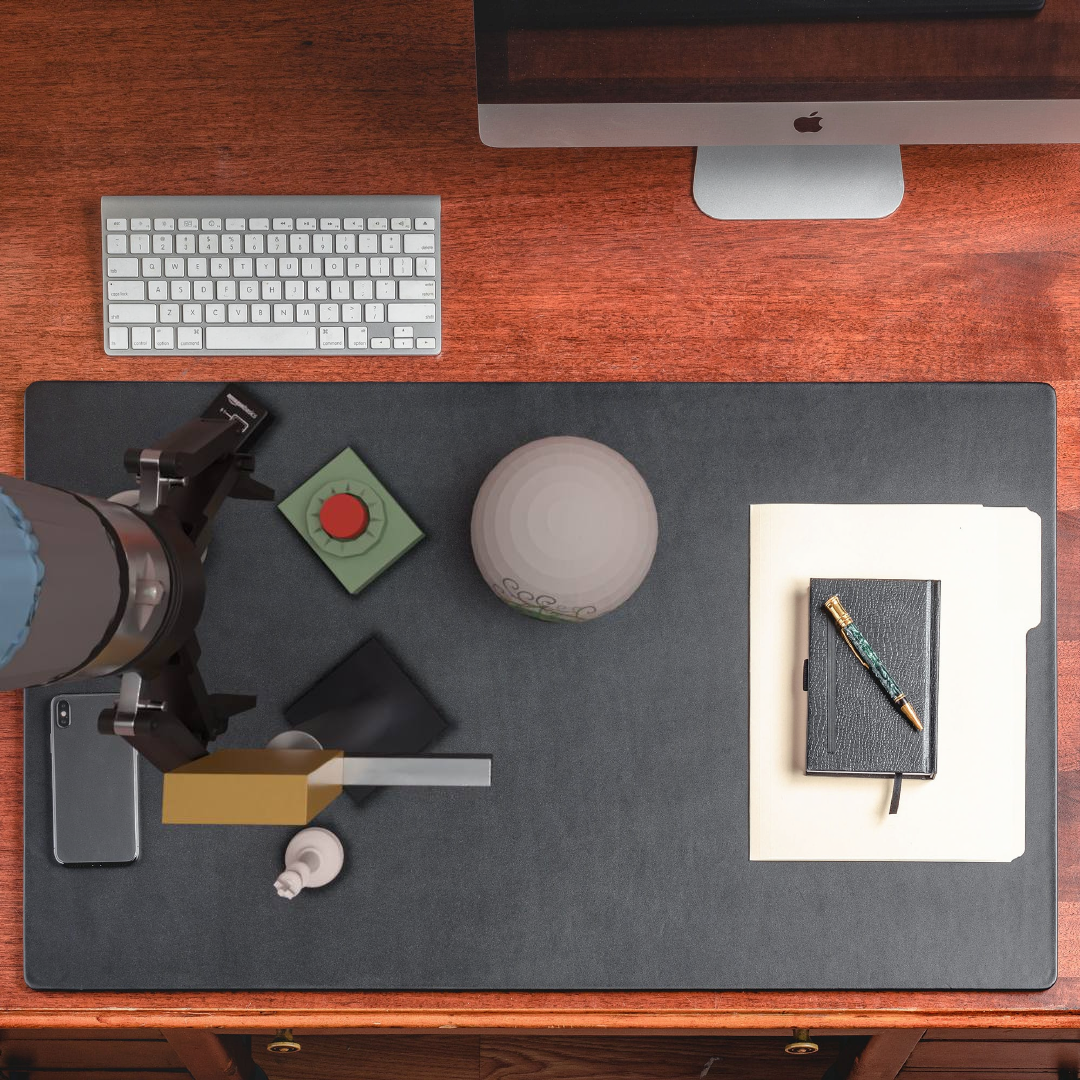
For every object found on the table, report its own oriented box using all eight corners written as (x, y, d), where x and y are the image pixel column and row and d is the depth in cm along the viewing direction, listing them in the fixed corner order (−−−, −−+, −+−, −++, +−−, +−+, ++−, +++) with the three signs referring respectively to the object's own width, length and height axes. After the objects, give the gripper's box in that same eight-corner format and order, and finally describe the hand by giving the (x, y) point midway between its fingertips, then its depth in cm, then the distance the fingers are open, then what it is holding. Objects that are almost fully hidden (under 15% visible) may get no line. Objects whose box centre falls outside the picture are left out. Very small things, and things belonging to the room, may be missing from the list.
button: (316, 515, 75) (311, 513, 73) (349, 488, 75) (344, 485, 73) (343, 547, 75) (338, 546, 73) (376, 520, 75) (372, 517, 73)
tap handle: (232, 784, 53) (161, 823, 43) (234, 743, 53) (163, 773, 43) (492, 787, 53) (481, 827, 43) (492, 746, 53) (482, 776, 43)
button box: (284, 509, 78) (270, 503, 74) (353, 451, 79) (344, 442, 75) (356, 594, 78) (346, 593, 74) (425, 535, 78) (419, 531, 74)
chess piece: (311, 815, 76) (277, 845, 66) (355, 852, 76) (327, 887, 66) (274, 860, 76) (234, 897, 66) (318, 898, 76) (284, 940, 66)
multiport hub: (159, 480, 79) (148, 476, 76) (240, 386, 79) (231, 379, 77) (197, 511, 78) (187, 508, 76) (277, 417, 79) (269, 411, 77)
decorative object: (448, 579, 78) (427, 570, 63) (520, 427, 79) (516, 383, 64) (603, 651, 77) (618, 659, 62) (673, 497, 79) (705, 469, 64)
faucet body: (288, 711, 77) (175, 755, 53) (376, 636, 77) (304, 645, 54) (361, 800, 76) (280, 885, 52) (449, 724, 77) (410, 773, 53)
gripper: (147, 900, 36) (286, 792, 57) (205, 303, 38) (318, 413, 59) (-40, 890, 36) (169, 785, 57) (28, 290, 38) (205, 406, 59)
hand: (245, 596), depth 58 cm, fingers open, 13 cm apart
